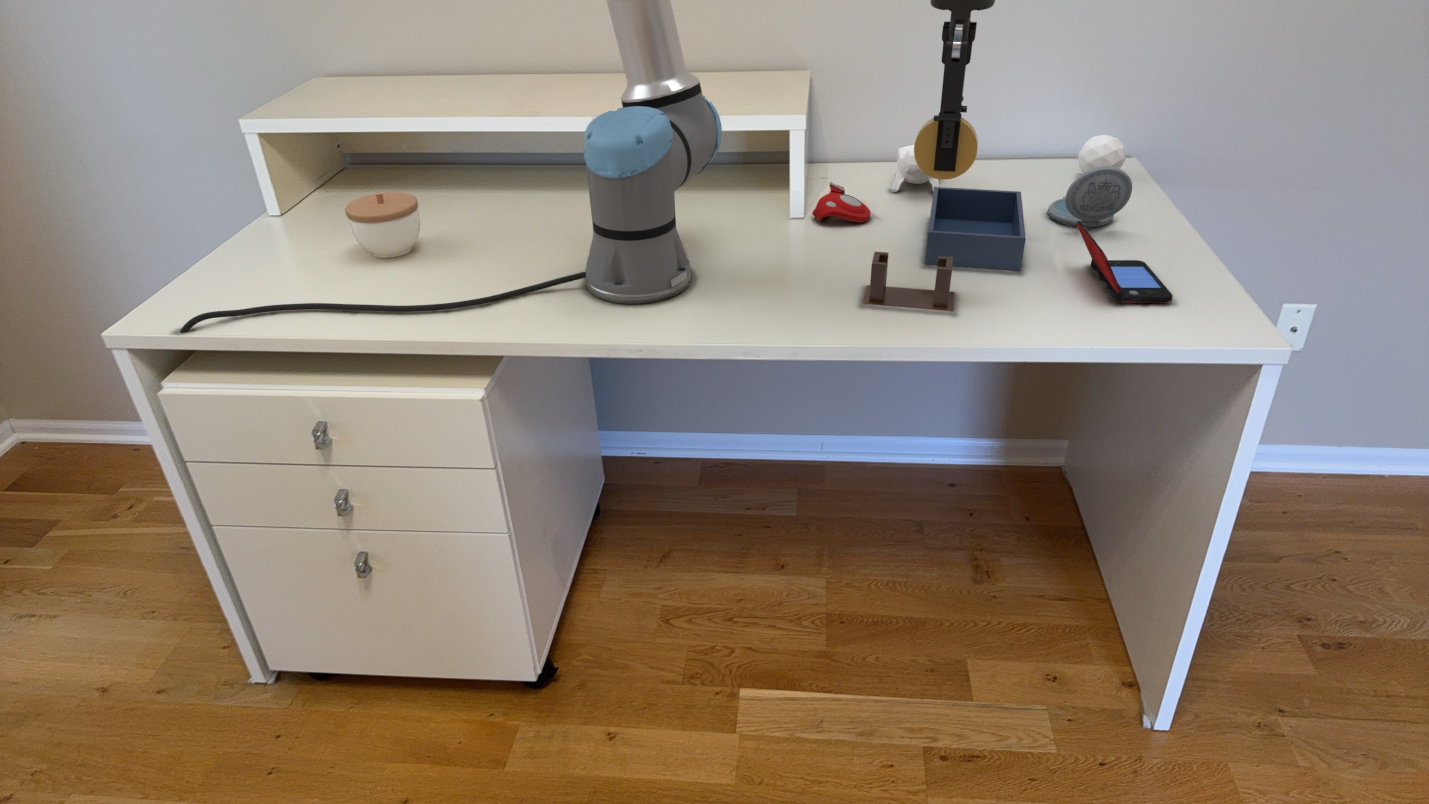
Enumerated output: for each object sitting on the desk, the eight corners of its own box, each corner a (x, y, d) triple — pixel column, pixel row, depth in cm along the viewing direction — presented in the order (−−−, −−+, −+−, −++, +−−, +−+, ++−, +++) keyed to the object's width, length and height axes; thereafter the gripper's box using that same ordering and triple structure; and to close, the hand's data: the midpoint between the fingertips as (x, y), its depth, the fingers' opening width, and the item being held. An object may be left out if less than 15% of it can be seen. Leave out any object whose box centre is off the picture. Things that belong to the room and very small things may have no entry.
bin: (1019, 274, 130) (1025, 238, 127) (924, 267, 133) (928, 231, 130) (1015, 224, 146) (1021, 191, 143) (930, 219, 149) (934, 186, 146)
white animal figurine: (891, 193, 168) (890, 190, 154) (895, 145, 166) (894, 138, 152) (938, 195, 166) (942, 192, 152) (943, 147, 165) (947, 139, 150)
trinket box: (354, 244, 146) (340, 187, 141) (422, 233, 150) (410, 177, 145) (359, 269, 138) (343, 210, 133) (431, 256, 141) (418, 198, 136)
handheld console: (1174, 305, 121) (1188, 253, 117) (1090, 305, 121) (1102, 253, 117) (1142, 266, 131) (1154, 217, 127) (1065, 266, 132) (1075, 218, 128)
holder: (954, 295, 125) (959, 254, 122) (953, 314, 120) (958, 273, 117) (866, 288, 128) (869, 248, 125) (862, 306, 123) (864, 266, 120)
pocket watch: (1073, 167, 136) (1048, 138, 148) (1060, 236, 141) (1037, 202, 154) (1142, 167, 135) (1111, 137, 147) (1126, 236, 141) (1098, 202, 153)
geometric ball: (1101, 190, 166) (1133, 153, 163) (1103, 188, 159) (1137, 150, 156) (1067, 164, 167) (1099, 127, 164) (1068, 161, 160) (1101, 123, 157)
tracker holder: (885, 212, 149) (840, 211, 143) (874, 235, 151) (830, 235, 146) (841, 176, 156) (797, 173, 150) (832, 199, 159) (788, 197, 153)
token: (978, 176, 118) (976, 115, 114) (916, 182, 121) (911, 122, 117) (978, 172, 120) (976, 110, 116) (917, 177, 122) (913, 117, 118)
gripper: (998, -20, 100) (972, 187, 113) (999, -38, 112) (975, 151, 125) (928, -20, 102) (911, 184, 115) (937, -38, 114) (920, 148, 127)
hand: (945, 166), depth 120 cm, fingers closed on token, 2 cm apart
